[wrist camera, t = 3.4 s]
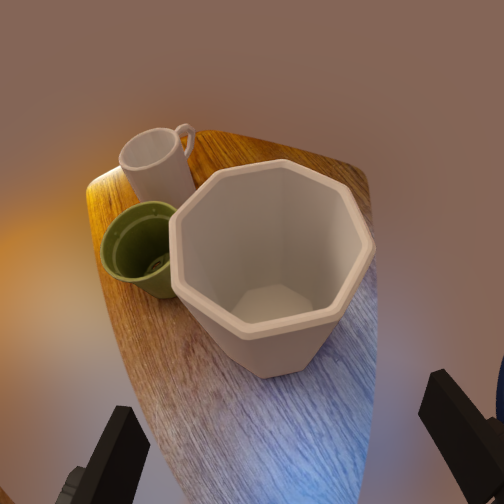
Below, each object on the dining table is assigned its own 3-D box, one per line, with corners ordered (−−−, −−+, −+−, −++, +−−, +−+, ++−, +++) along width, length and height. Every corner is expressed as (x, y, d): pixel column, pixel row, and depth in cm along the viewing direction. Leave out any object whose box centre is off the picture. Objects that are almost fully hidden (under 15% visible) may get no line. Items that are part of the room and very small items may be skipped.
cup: (285, 264, 35) (289, 134, 19) (344, 339, 29) (417, 252, 13) (202, 314, 32) (134, 213, 16) (257, 399, 27) (232, 390, 11)
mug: (223, 171, 43) (212, 118, 35) (170, 228, 38) (145, 177, 30) (184, 156, 46) (169, 107, 37) (133, 206, 41) (107, 159, 33)
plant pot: (120, 282, 35) (85, 247, 27) (169, 231, 38) (146, 188, 31) (167, 328, 32) (134, 301, 24) (220, 269, 35) (205, 227, 27)
